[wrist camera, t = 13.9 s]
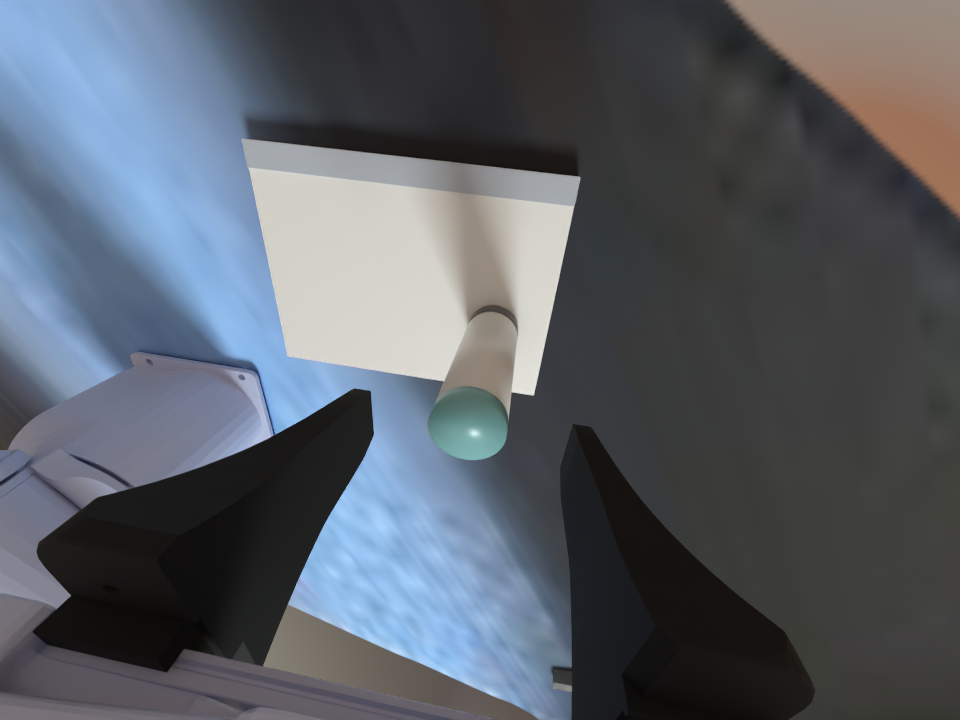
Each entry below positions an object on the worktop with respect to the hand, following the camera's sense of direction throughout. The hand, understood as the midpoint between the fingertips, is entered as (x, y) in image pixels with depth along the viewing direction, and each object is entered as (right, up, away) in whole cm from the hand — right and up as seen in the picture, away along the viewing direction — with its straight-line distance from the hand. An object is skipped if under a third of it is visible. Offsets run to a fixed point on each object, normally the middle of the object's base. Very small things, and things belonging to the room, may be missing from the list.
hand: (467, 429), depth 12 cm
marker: (+1, +4, +7) cm, 9 cm away
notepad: (-3, +7, +7) cm, 11 cm away
